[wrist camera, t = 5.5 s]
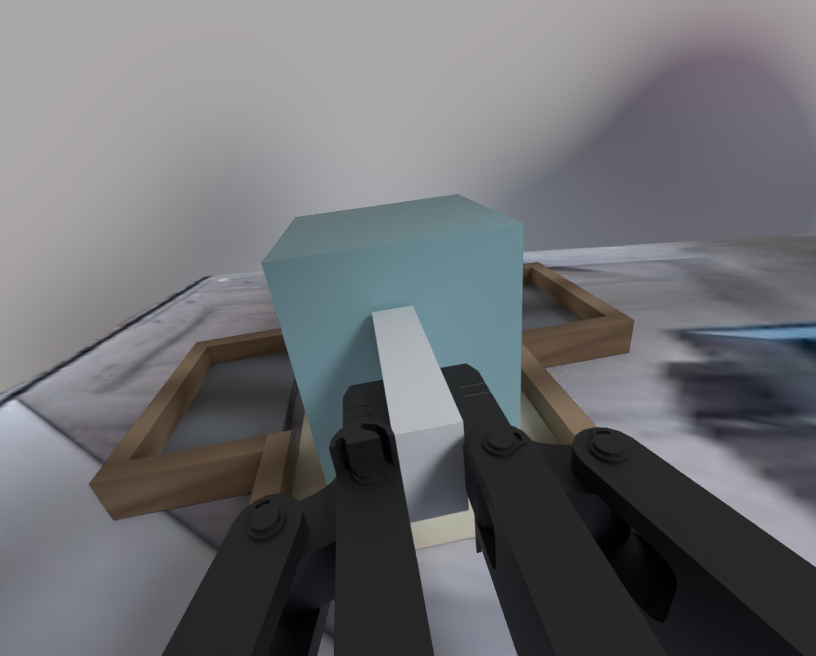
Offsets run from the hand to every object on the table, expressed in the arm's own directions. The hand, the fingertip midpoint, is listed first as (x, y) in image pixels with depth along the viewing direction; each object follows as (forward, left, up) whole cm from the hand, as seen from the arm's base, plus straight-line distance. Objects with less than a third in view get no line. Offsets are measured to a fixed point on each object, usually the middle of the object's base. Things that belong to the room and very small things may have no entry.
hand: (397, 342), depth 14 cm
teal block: (-3, -4, -7) cm, 9 cm away
